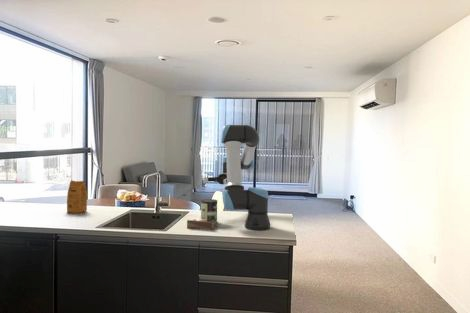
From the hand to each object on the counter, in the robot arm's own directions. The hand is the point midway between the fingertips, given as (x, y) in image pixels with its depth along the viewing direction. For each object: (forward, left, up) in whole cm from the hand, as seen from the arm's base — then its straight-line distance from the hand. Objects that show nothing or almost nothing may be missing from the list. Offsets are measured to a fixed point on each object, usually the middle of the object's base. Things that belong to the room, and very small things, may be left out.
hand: (213, 181), depth 226 cm
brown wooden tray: (-14, +14, -25) cm, 32 cm away
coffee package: (+66, +72, -25) cm, 101 cm away
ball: (-15, +15, -23) cm, 31 cm away
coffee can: (-7, +7, -25) cm, 27 cm away
